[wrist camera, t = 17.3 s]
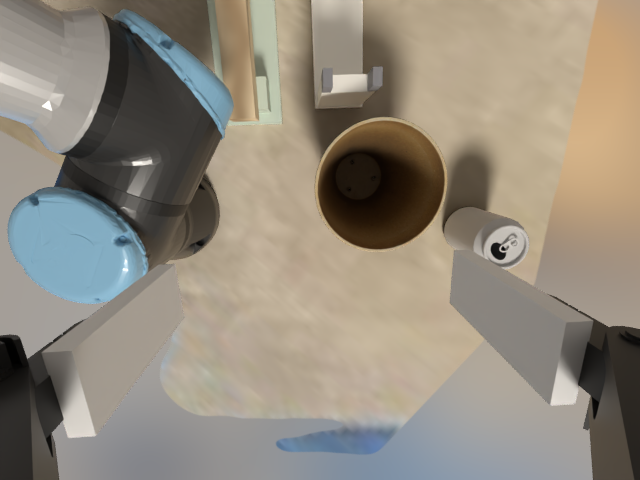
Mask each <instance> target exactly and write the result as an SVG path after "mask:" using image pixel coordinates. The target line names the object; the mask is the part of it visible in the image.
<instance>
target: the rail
mask: <svg viewBox="0 0 640 480" xmlns="http://www.w3.org/2000/svg"><path fill="white" fill-rule="evenodd" d="M215 8H216V18H217V27H218V37H219V46H220V55H221V65H222V74H223V83H224V84H225V85H226V87H227V88H228V89H229V91H230V93H231V95H232V99H233V103H234V107H233V112H232V114H231V117H230V119H229V120H230V121H233V122H247V121H259V109H258V96H257V84H256V72H255V59H254V47H253V35H252V22H251V10H250V0H215Z"/></svg>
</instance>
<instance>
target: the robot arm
mask: <svg viewBox="0 0 640 480" xmlns="http://www.w3.org/2000/svg"><path fill="white" fill-rule="evenodd" d="M233 107H234V103H233V99H232V95H231V93H230V91H229V89H228V88H227V87H226V85H225V84H224V83H223V82H222V81H221V80H220V79H219V78H218V77H217V76H216V75H215V74H214V73H213V72H212V71H211V70H210V69H209V68H208V67H207V66H206V65H204V64H203V63H202V62H201V61H200V60H199V59H197V58H196V57H195V56H194V55H193V54H192V53H190V52H189V51H188V50H187V49H185V48H184V47H183V46H182V45H180V44H179V43H177V42H175V41H173V40H172V39H171V38H170V37H169V36H168V35H166V34H165V33H164V32H163V31H161V30H160V29H159V28H158V27H157V26H155V25H154V24H152V23H151V22H149V21H148V20H146V19H145V18H143V17H142V16H140V15H138V14H137V13H135V12H132V11H130V10H127V9H122V10H121V11H120V12H119V13H117V14H115V15H114V17H113V20H112V19H110V18H109V17H107V16H106V15H104V14H103V13H101V12H99V11H98V10H96V9H95V8H92V7H81V8H75V9H69V10H63V11H61V10H56V9H54V8H53V7H51V6H49V5H47V4H46V3H44V2H42V1H41V0H0V116H3V117H6V118H9V119H12V120H15V121H19V122H22V123H25V124H26V125H27V126H29V127H30V128H31V129H32V130H33V132H34V133H35V134H36V135H37V137H38V138H39V139H40V141H41V142H42V143H43V144H44V146H45V147H46V148H47V149H48V150H50V151H53V152H55V153H58V154H62V155H66V157H65V159H64V162H63V165H62V167H61V170H60V173H59V175H58V178H57V181H56V183H55V186H54V187H47V188H43V189H40V190H38V191H36V192H35V193H33V194H31V195H29V196H27V197H25V198H24V199H22V200H21V201H20V202H19V203H18V204H17V206H16V207H15V208H14V209H13V211H12V213H11V215H10V218H9V222H8V240H9V244H10V248H11V250H12V253H13V255H14V257H15V259H16V260H17V262H19V263H20V264H21V265H22V266H23V268H24V270H25V272H26V274H27V275H28V276H29V277H30V278H31V279H32V280H33V281H34V282H35V283H37V284H38V285H39V286H41V287H42V288H44V289H45V290H47V291H48V292H50V293H52V294H54V295H56V296H59V297H61V298H63V299H66V300H70V301H74V302H79V303H88V304H92V303H93V304H94V303H101V302H106V301H110V302H108V303H107V304H105V305H104V306H103V307H101V308H100V309H99V310H97V311H96V312H95V313H93V314H92V315H91V316H90V317H88V318H87V319H85V320H82V321H80V322H78V323H76V324H74V325H73V326H72V327H70V328H69V329H68V330H66V331H65V332H64V333H63V335H60V336H58V337H57V338H55V339H54V340H53V342H50V343H49V344H47V345H46V346H45V347H43V348H42V349H41V350H39V351H38V352H36V353H35V354H34V355H32V356H31V357H30V358H28V359H27V357H26V354H25V351H24V348H23V345H22V342H21V340H20V338H19V337H18V336H17V335H3V336H0V480H59V473H58V465H57V456H56V448H55V442H54V439H53V436H52V432H53V431H54V429H56V427H57V426H58V425H59V424H60V423H61V422H62V421H63V423H64V426H65V430H66V433H67V436H68V438H75V437H89V436H97V434H98V433H99V432H100V430H101V429H102V427H103V426H104V424H105V423H106V422H107V421H108V419H109V418H110V417H111V415H112V414H113V412H114V411H115V410H116V409H117V407H118V406H119V404H120V403H121V402H122V400H123V399H124V398H125V396H126V395H127V394H128V392H129V391H130V390H131V388H132V387H133V386H134V384H135V383H136V381H137V380H138V379H139V378H140V376H141V375H142V374H143V372H144V371H145V369H146V368H147V367H148V365H149V364H150V362H151V361H152V360H153V359H154V357H155V356H156V355H157V353H158V352H159V350H160V349H161V348H162V347H163V345H164V344H165V343H166V341H167V340H168V338H169V337H170V336H171V334H172V333H173V332H174V330H175V329H176V328H177V326H178V325H179V324H180V322H181V321H182V320H183V318H184V313H183V307H182V301H181V295H180V289H179V283H178V277H177V271H176V265H175V264H165V263H166V262H168V261H169V260H177V259H183V258H186V257H189V256H191V255H193V254H195V253H197V252H199V251H200V250H201V249H202V248H204V247H205V246H206V245H207V244H208V243H209V242H210V241H211V239H212V238H213V236H214V235H215V233H216V230H217V228H218V224H219V217H220V212H219V205H218V201H217V198H216V195H215V193H214V191H213V190H212V188H211V186H210V185H209V184H208V182H207V181H206V180H205V179H204V178H203V175H204V173H205V171H206V169H207V167H208V165H209V163H210V161H211V158H212V156H213V154H214V152H215V150H216V148H217V146H218V144H219V142H220V140H222V139H223V138H224V135H225V129H226V126H227V124H228V121H229V119H230V117H231V114H232V112H233ZM450 304H451V305H452V306H453V307H454V308H455V309H456V310H457V311H458V312H459V313H460V314H461V315H462V316H463V317H464V318H465V319H466V320H467V321H468V322H469V323H470V324H471V325H472V326H473V327H474V328H475V329H476V330H477V331H478V332H479V333H480V334H481V335H482V336H483V337H484V338H485V339H486V340H487V342H488V343H489V344H490V345H491V346H492V347H493V348H494V349H495V350H496V351H497V352H498V353H499V354H500V355H501V356H502V357H503V358H504V359H505V360H506V361H507V362H508V363H509V364H510V365H511V366H512V367H513V368H514V369H515V370H516V371H517V372H518V373H519V374H520V375H521V376H522V377H523V378H524V379H525V380H526V381H527V382H528V383H529V385H531V386H532V387H533V389H534V390H535V391H536V392H537V393H538V394H539V395H540V396H541V397H542V398H543V399H544V400H545V401H546V402H547V403H548V404H549V405H550V406H551V405H565V404H575V402H576V397H577V393H578V389H579V386H580V387H582V388H583V389H584V390H585V391H586V392H587V393H589V394H590V395H591V397H590V401H589V405H588V410H587V414H586V418H585V422H584V427H583V429H586V430H588V429H589V428H590V441H591V457H592V470H593V471H592V472H593V480H640V329H636V328H631V327H625V326H612V327H608V326H606V325H604V324H602V323H600V322H599V321H597V320H595V319H594V318H592V317H590V316H588V315H587V314H585V313H583V312H581V311H578V309H576V308H574V307H572V306H571V305H568V304H567V303H565V302H564V301H562V300H560V299H558V298H557V297H554V296H552V295H549V294H546V293H544V292H543V291H541V290H539V289H537V288H536V287H534V286H532V285H530V284H529V283H527V282H525V281H524V280H522V279H520V278H518V277H517V276H515V275H513V274H511V273H510V272H508V271H506V270H504V269H503V268H501V267H499V266H497V265H496V264H494V263H492V262H491V261H489V260H487V259H485V258H484V257H482V256H480V255H478V254H477V253H475V252H473V251H471V250H454V257H453V269H452V281H451V293H450Z"/></svg>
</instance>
